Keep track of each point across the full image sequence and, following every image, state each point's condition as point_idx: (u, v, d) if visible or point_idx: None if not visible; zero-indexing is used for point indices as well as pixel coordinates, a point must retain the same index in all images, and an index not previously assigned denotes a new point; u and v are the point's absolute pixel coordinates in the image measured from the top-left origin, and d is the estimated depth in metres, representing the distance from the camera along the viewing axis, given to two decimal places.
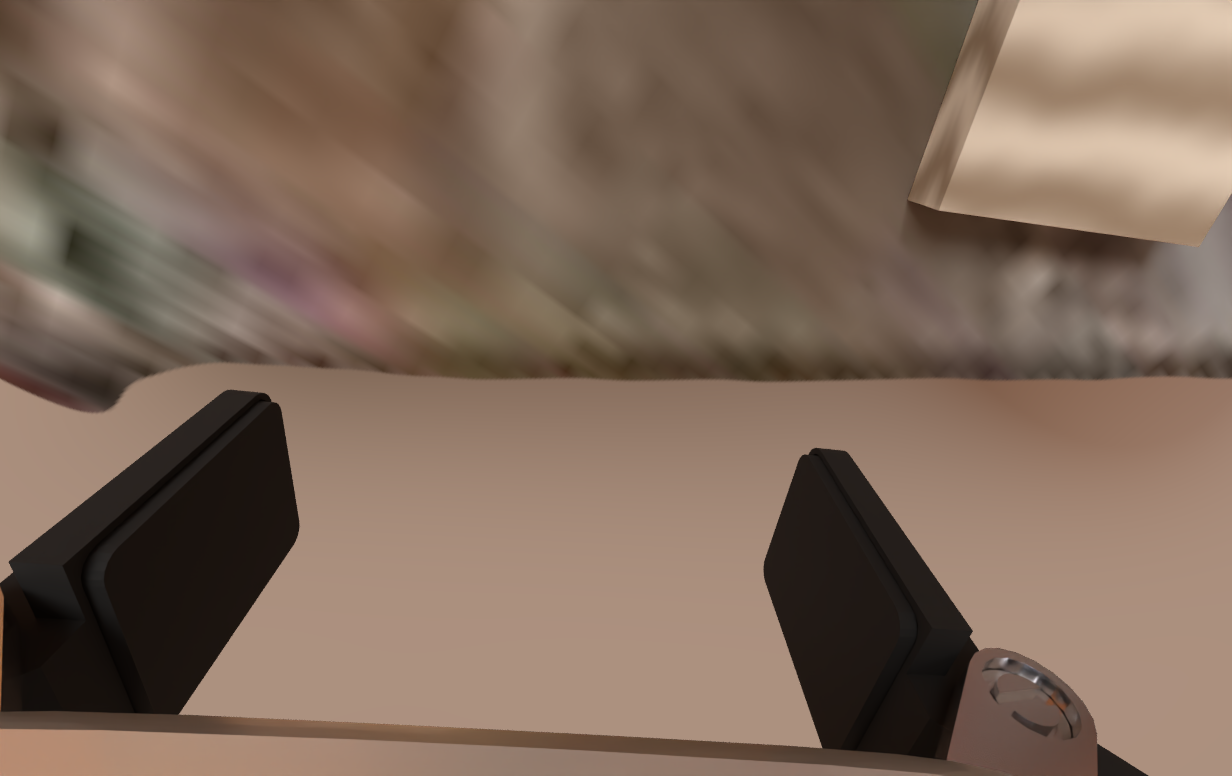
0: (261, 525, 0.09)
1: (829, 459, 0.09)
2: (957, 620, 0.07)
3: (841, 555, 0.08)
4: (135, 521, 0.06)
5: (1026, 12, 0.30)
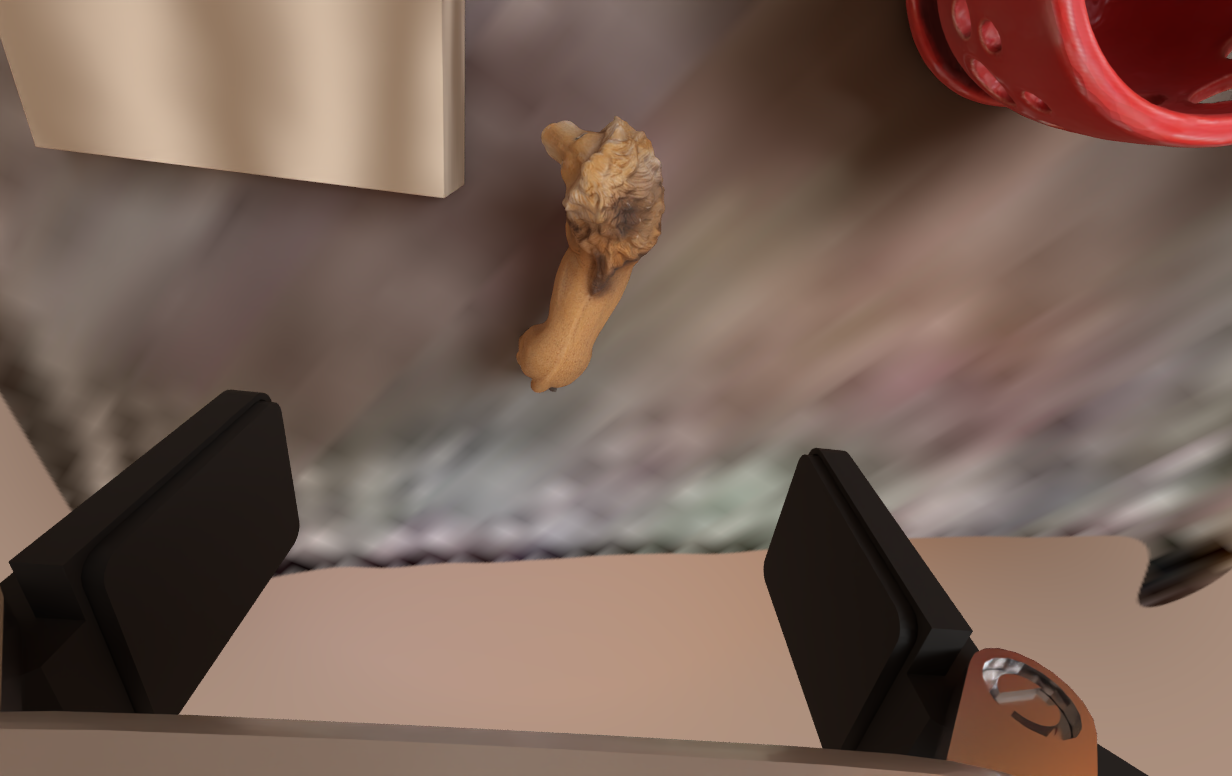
0: (261, 525, 0.09)
1: (829, 459, 0.09)
2: (957, 620, 0.07)
3: (841, 555, 0.08)
4: (135, 521, 0.06)
5: None
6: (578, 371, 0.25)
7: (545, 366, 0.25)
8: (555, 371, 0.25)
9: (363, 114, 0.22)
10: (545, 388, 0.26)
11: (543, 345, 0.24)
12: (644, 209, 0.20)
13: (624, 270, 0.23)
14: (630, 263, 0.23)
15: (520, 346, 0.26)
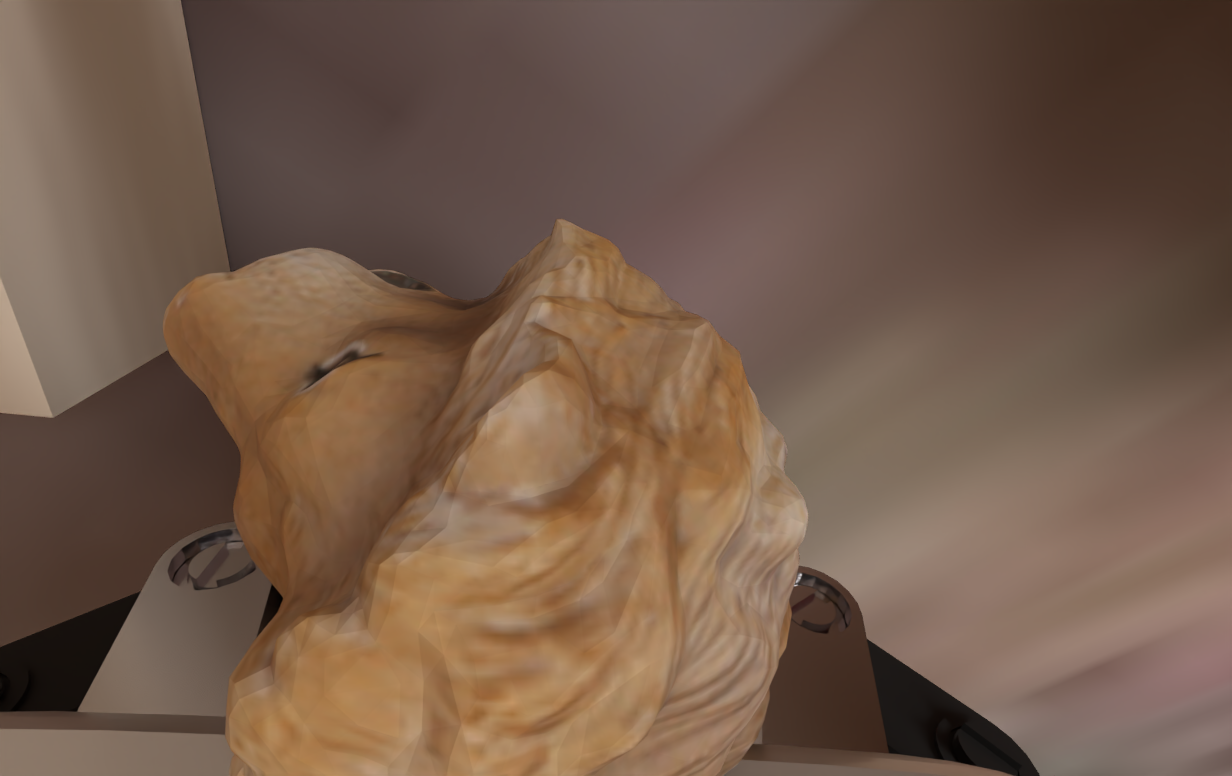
0: None
1: None
2: None
3: None
4: None
5: None
6: None
7: None
8: None
9: None
10: None
11: None
12: None
13: None
14: None
15: None
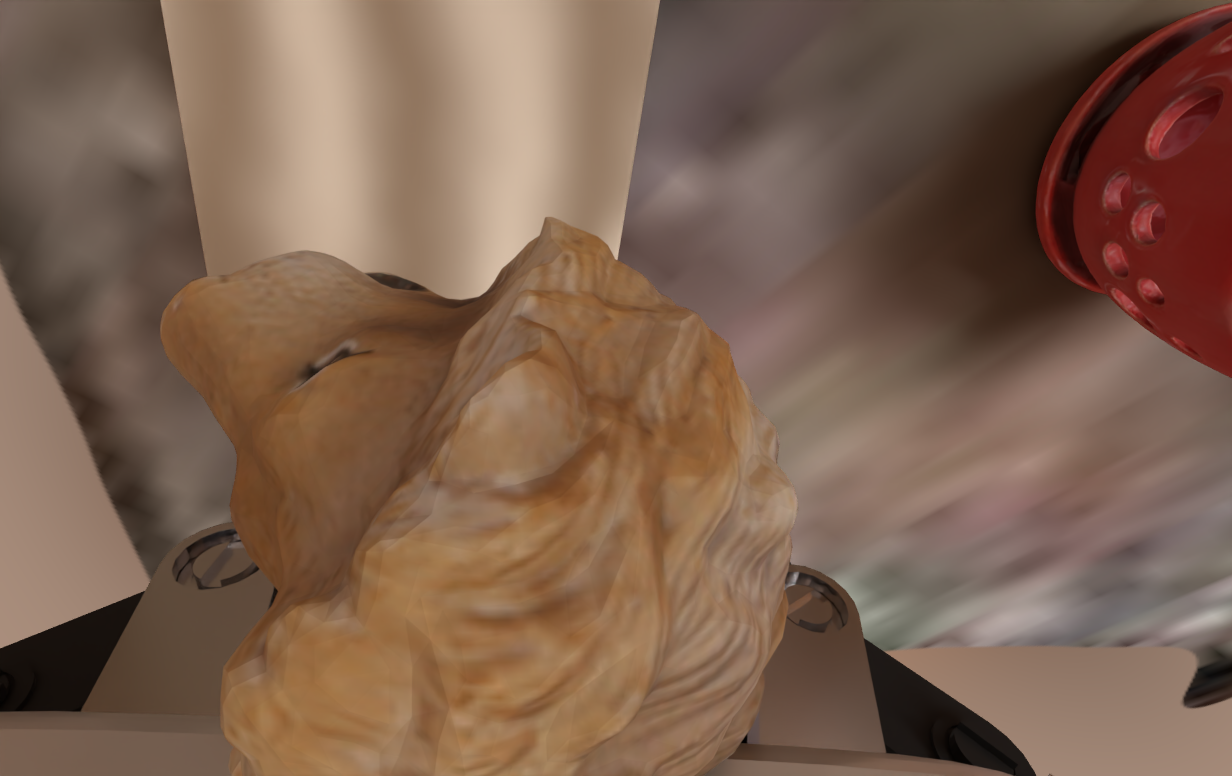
0: None
1: None
2: None
3: None
4: None
5: None
6: None
7: None
8: None
9: None
10: None
11: None
12: (707, 766, 0.03)
13: None
14: None
15: None
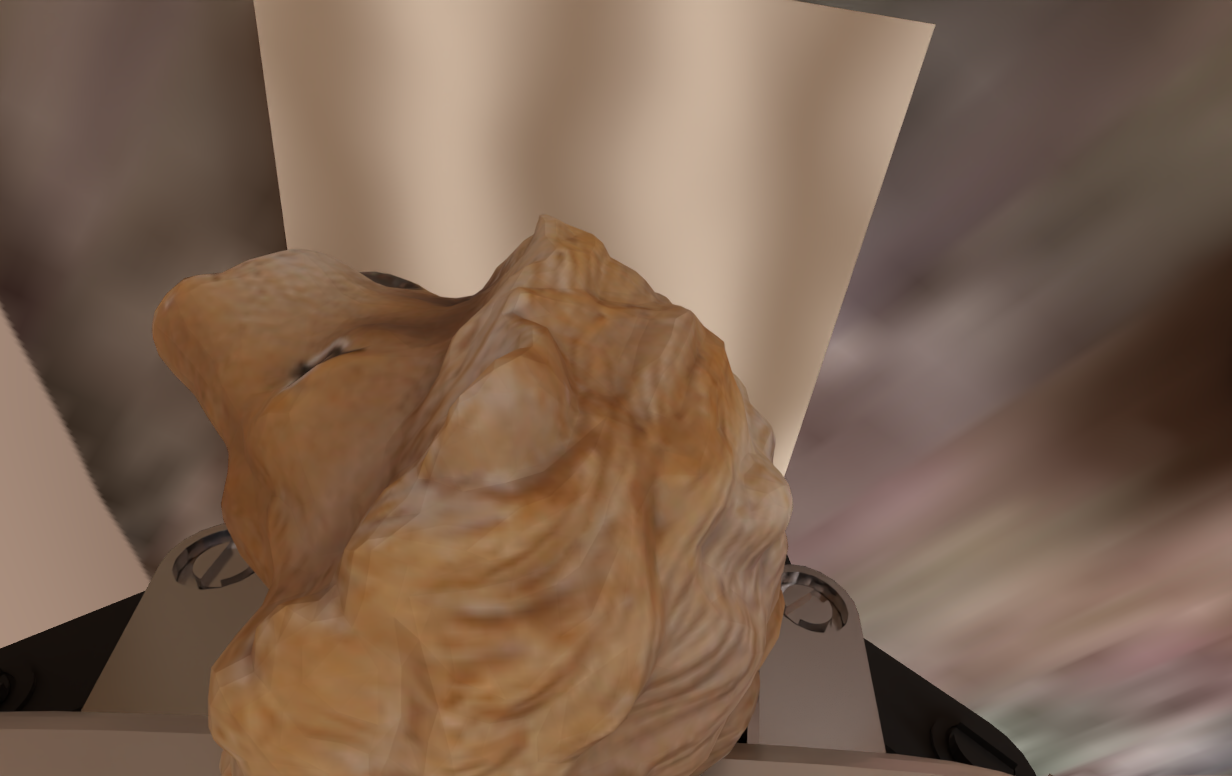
0: None
1: None
2: None
3: None
4: None
5: (707, 19, 0.13)
6: None
7: None
8: None
9: None
10: None
11: None
12: (702, 766, 0.03)
13: None
14: None
15: None
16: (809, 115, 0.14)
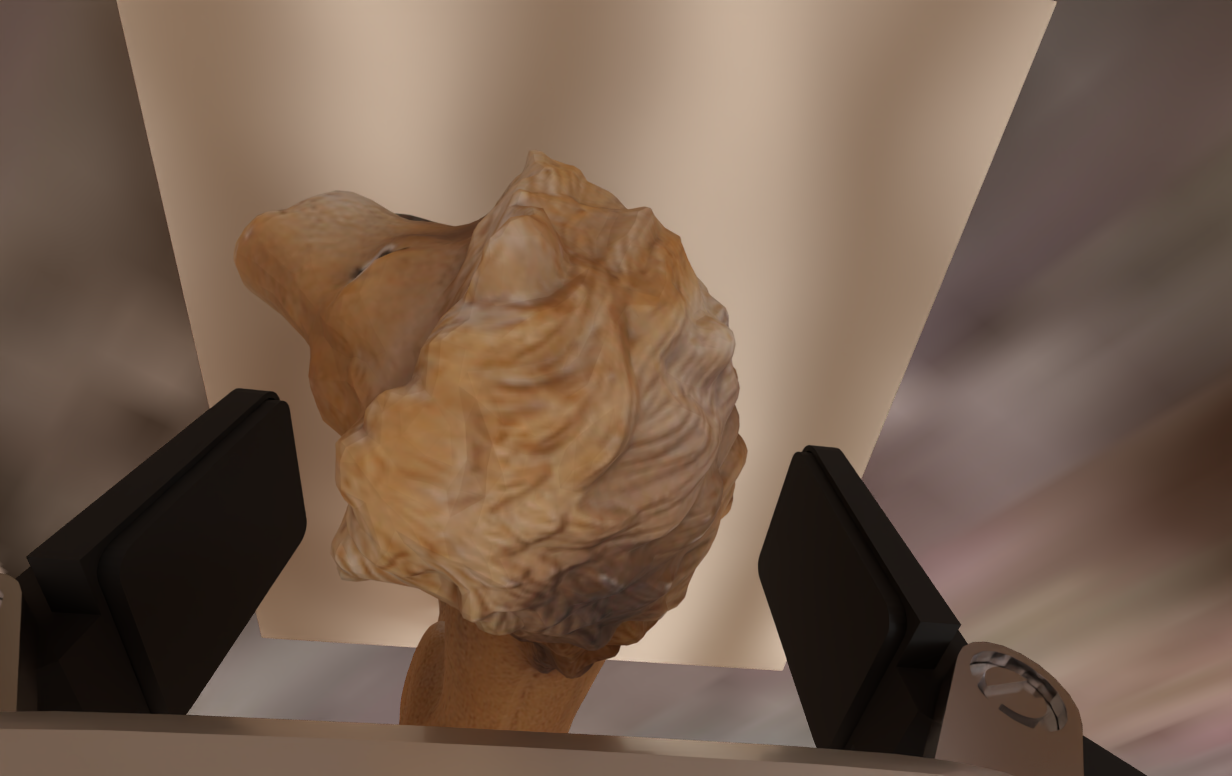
0: (270, 522, 0.09)
1: (822, 456, 0.10)
2: (945, 613, 0.07)
3: (833, 551, 0.08)
4: (149, 517, 0.06)
5: None
6: None
7: None
8: None
9: (705, 601, 0.16)
10: None
11: None
12: (683, 546, 0.05)
13: None
14: None
15: (401, 702, 0.11)
16: (877, 125, 0.11)
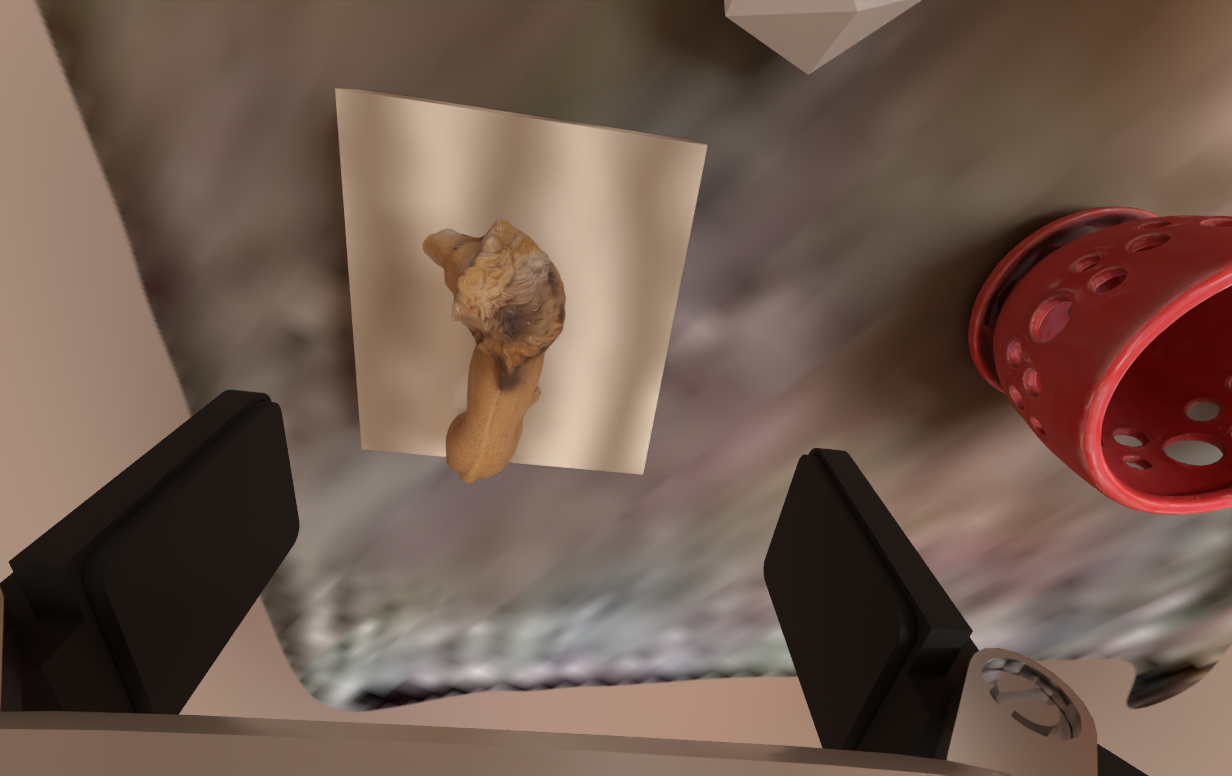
0: (261, 525, 0.09)
1: (829, 459, 0.09)
2: (957, 619, 0.07)
3: (841, 555, 0.08)
4: (135, 521, 0.06)
5: (583, 142, 0.25)
6: (502, 462, 0.25)
7: (466, 461, 0.24)
8: (477, 466, 0.24)
9: (596, 428, 0.31)
10: (472, 481, 0.25)
11: (461, 442, 0.24)
12: (531, 312, 0.20)
13: (531, 362, 0.23)
14: (535, 356, 0.22)
15: (446, 438, 0.26)
16: (644, 191, 0.26)
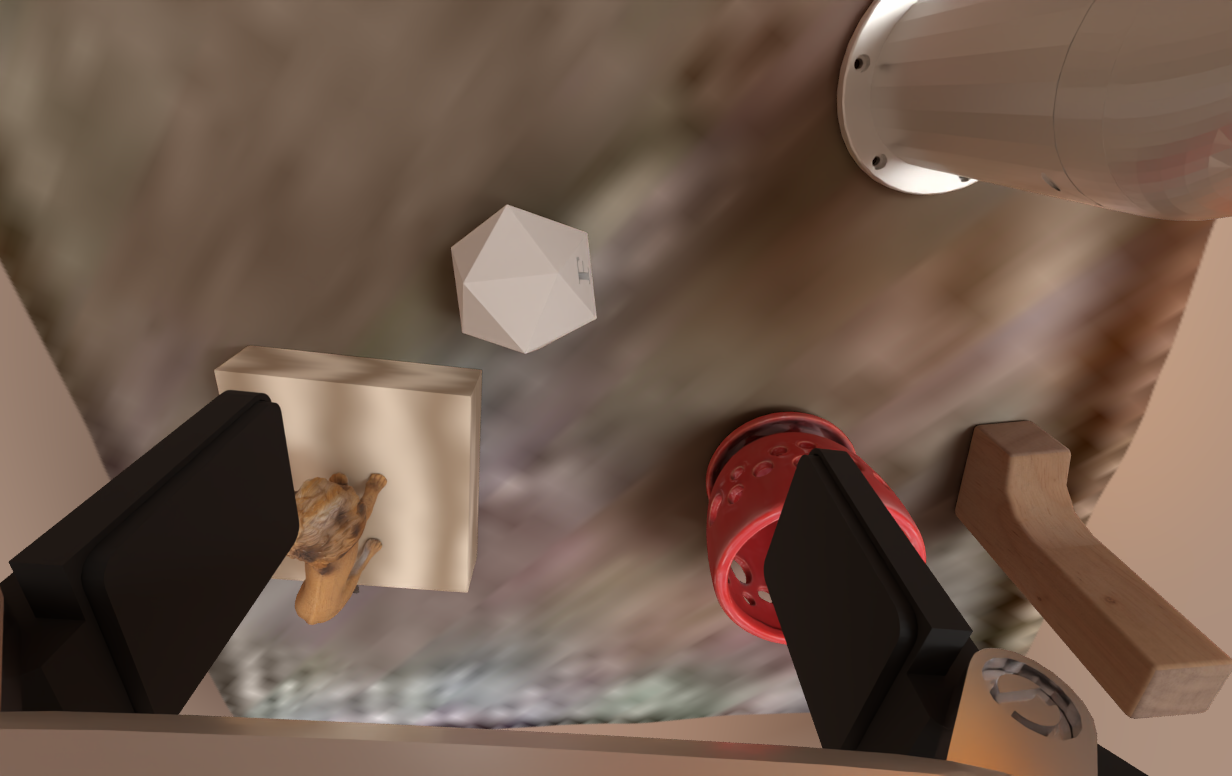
0: (261, 525, 0.09)
1: (829, 459, 0.09)
2: (957, 619, 0.07)
3: (841, 555, 0.08)
4: (135, 521, 0.06)
5: (385, 396, 0.37)
6: (331, 614, 0.37)
7: (305, 615, 0.36)
8: (312, 618, 0.36)
9: (427, 563, 0.43)
10: None
11: (301, 603, 0.36)
12: (320, 546, 0.32)
13: (340, 558, 0.35)
14: None
15: None
16: (433, 422, 0.38)
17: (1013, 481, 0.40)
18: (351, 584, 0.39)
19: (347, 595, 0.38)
